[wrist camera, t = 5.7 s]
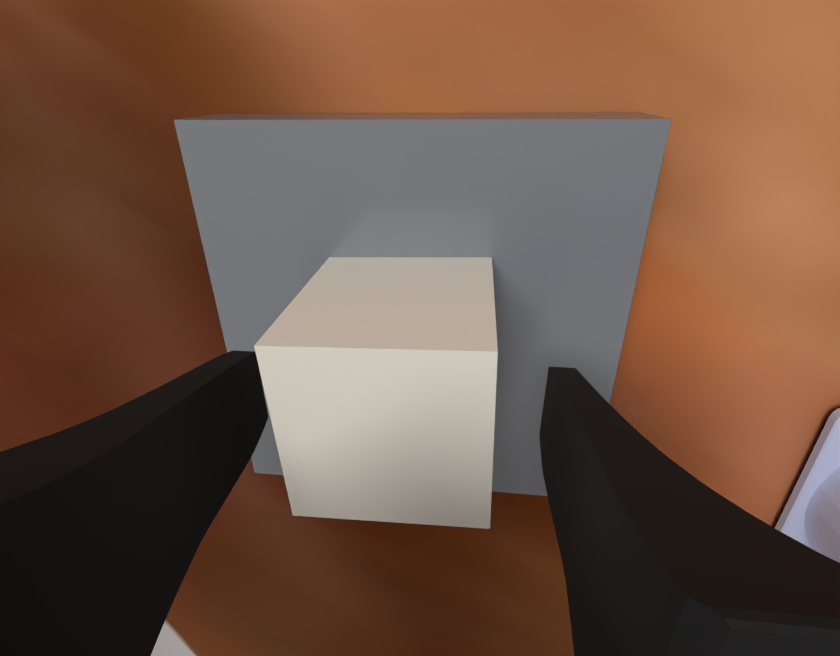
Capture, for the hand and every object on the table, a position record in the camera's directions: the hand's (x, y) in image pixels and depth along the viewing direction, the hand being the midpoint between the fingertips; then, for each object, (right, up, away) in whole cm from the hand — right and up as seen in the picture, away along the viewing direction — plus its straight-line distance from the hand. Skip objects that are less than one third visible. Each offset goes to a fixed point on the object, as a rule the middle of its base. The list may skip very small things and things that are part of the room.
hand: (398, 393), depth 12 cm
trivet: (+1, +2, +5) cm, 5 cm away
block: (0, +2, +2) cm, 3 cm away
